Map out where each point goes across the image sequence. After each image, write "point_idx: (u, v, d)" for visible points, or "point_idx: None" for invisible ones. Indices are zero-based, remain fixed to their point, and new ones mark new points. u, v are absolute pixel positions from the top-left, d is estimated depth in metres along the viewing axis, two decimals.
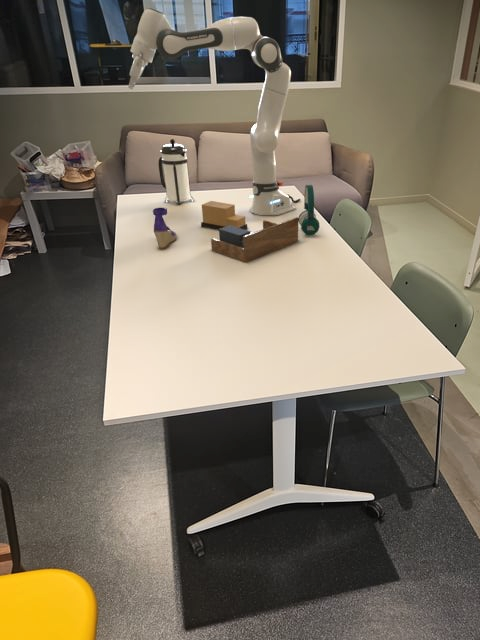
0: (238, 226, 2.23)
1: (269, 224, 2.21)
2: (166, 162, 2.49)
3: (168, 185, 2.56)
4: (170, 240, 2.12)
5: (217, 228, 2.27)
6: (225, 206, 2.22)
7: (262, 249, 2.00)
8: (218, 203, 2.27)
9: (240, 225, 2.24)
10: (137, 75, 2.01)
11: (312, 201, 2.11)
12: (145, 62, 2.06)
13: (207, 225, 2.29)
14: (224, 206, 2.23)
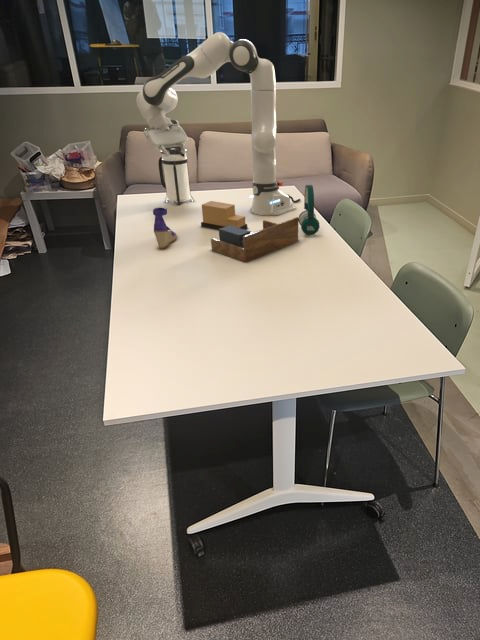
0: (238, 226, 2.23)
1: (269, 224, 2.21)
2: (166, 162, 2.49)
3: (168, 185, 2.56)
4: (170, 240, 2.12)
5: (217, 228, 2.27)
6: (225, 206, 2.22)
7: (262, 249, 2.00)
8: (218, 203, 2.27)
9: (240, 225, 2.24)
10: (152, 142, 2.21)
11: (312, 201, 2.11)
12: (161, 128, 2.25)
13: (207, 225, 2.29)
14: (224, 206, 2.23)
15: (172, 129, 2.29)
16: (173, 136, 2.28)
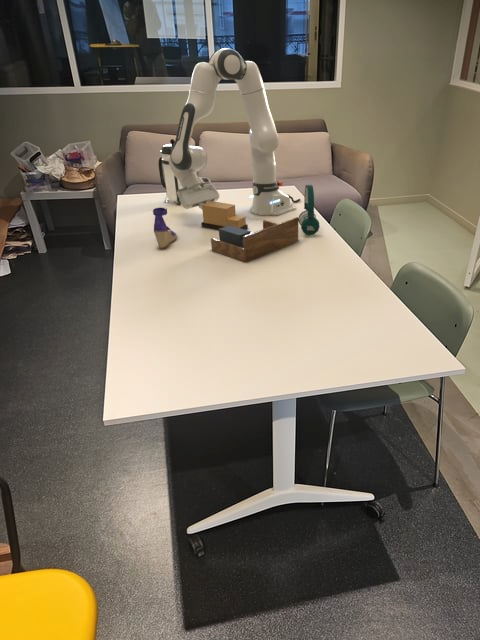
0: (238, 226, 2.23)
1: (269, 224, 2.21)
2: (166, 162, 2.49)
3: (168, 185, 2.56)
4: (170, 240, 2.12)
5: (217, 228, 2.27)
6: (226, 206, 2.22)
7: (262, 249, 2.00)
8: (218, 203, 2.26)
9: (240, 225, 2.24)
10: (185, 203, 2.25)
11: (312, 201, 2.11)
12: (193, 188, 2.28)
13: (207, 225, 2.29)
14: (224, 206, 2.23)
15: (204, 187, 2.32)
16: (205, 194, 2.32)
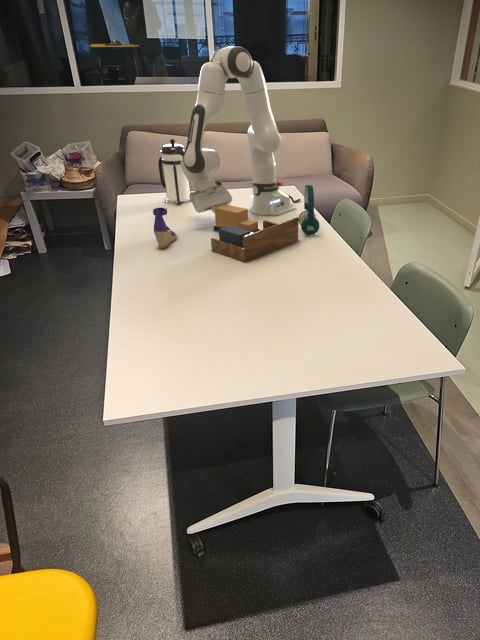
0: None
1: (269, 224, 2.21)
2: (166, 162, 2.49)
3: (168, 185, 2.56)
4: (170, 240, 2.12)
5: None
6: (238, 210, 2.17)
7: (262, 249, 2.00)
8: (231, 207, 2.22)
9: (252, 230, 2.19)
10: (198, 207, 2.20)
11: (312, 201, 2.11)
12: (206, 191, 2.24)
13: None
14: (237, 210, 2.18)
15: (217, 190, 2.28)
16: (218, 198, 2.27)
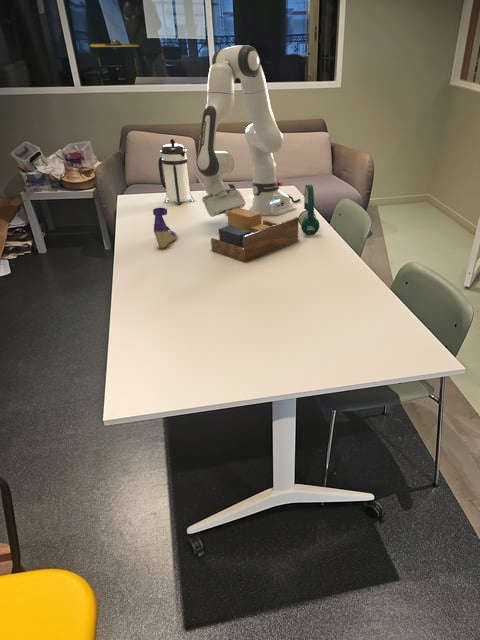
0: None
1: (269, 224, 2.21)
2: (166, 162, 2.49)
3: (168, 185, 2.56)
4: (170, 240, 2.12)
5: None
6: (250, 215, 2.12)
7: (262, 249, 2.00)
8: (245, 211, 2.17)
9: None
10: (211, 210, 2.15)
11: (312, 201, 2.11)
12: (219, 195, 2.19)
13: None
14: (249, 214, 2.13)
15: (230, 194, 2.23)
16: (231, 201, 2.23)
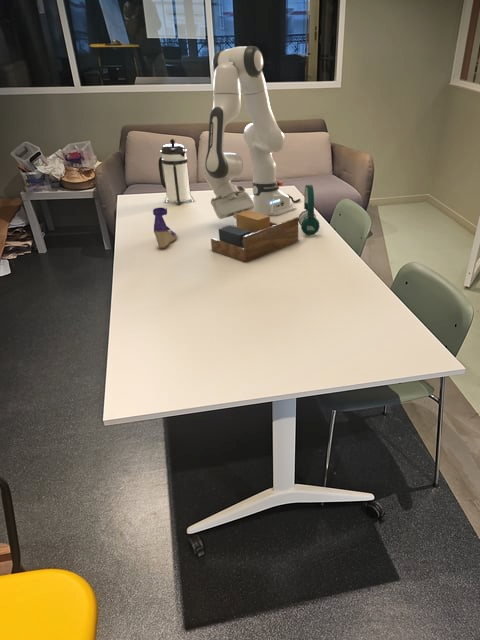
0: None
1: None
2: (166, 162, 2.49)
3: (168, 185, 2.56)
4: (170, 240, 2.12)
5: None
6: (259, 217, 2.09)
7: (262, 249, 2.00)
8: (254, 213, 2.14)
9: None
10: (220, 213, 2.12)
11: (312, 201, 2.11)
12: (228, 197, 2.16)
13: None
14: (258, 217, 2.10)
15: (239, 196, 2.20)
16: (240, 203, 2.20)
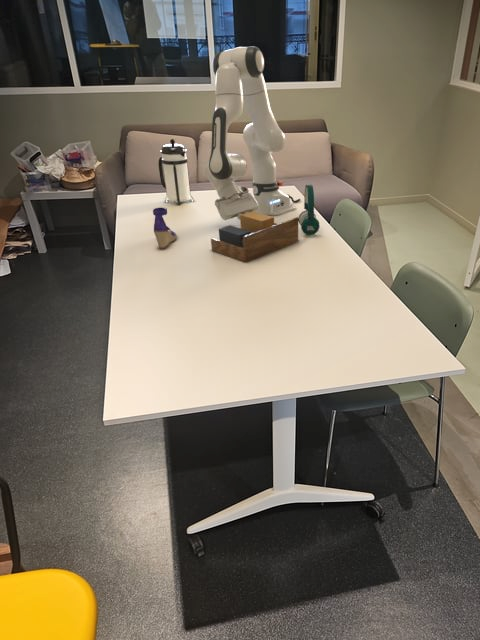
0: None
1: None
2: (166, 162, 2.49)
3: (168, 185, 2.56)
4: (170, 240, 2.12)
5: None
6: (263, 219, 2.08)
7: (262, 249, 2.00)
8: (258, 214, 2.13)
9: None
10: (224, 214, 2.11)
11: (312, 201, 2.11)
12: (232, 198, 2.15)
13: None
14: (262, 218, 2.08)
15: (243, 197, 2.19)
16: (244, 204, 2.19)
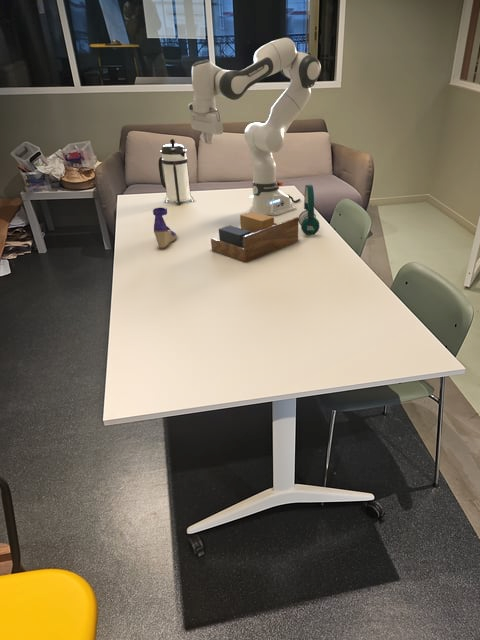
0: None
1: None
2: (166, 162, 2.49)
3: (168, 185, 2.56)
4: (170, 240, 2.12)
5: None
6: (263, 219, 2.08)
7: (262, 249, 2.00)
8: (258, 214, 2.13)
9: None
10: (222, 130, 2.07)
11: (312, 201, 2.11)
12: None
13: None
14: (262, 218, 2.08)
15: None
16: None
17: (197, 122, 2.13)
